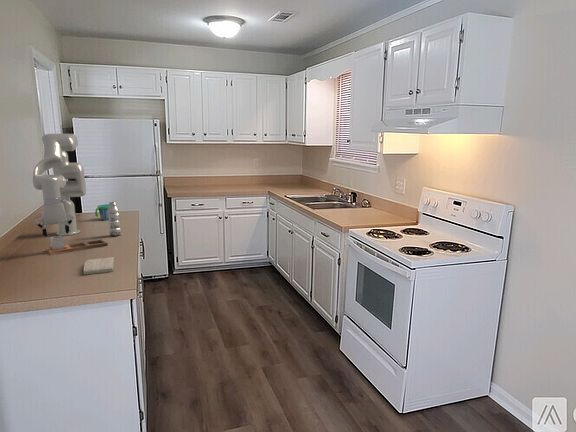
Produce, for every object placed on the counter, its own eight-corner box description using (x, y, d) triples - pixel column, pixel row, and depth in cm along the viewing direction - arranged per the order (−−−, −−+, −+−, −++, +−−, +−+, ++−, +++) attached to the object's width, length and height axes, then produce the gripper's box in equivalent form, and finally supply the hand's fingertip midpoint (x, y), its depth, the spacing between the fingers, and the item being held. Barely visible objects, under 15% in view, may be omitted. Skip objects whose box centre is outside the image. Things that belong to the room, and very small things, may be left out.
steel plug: (51, 250, 206) (50, 236, 205) (62, 248, 210) (61, 235, 208) (53, 252, 203) (52, 238, 201) (64, 250, 206) (63, 237, 204)
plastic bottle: (117, 237, 235) (114, 203, 231) (107, 236, 236) (103, 202, 233) (124, 234, 241) (121, 201, 238) (113, 234, 243) (110, 201, 239)
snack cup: (99, 222, 279) (98, 207, 277) (92, 220, 285) (91, 206, 284) (121, 218, 291) (119, 204, 289) (113, 217, 297) (112, 203, 295)
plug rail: (46, 250, 207) (45, 247, 207) (101, 241, 224) (101, 239, 224) (50, 255, 199) (49, 252, 199) (107, 245, 216) (107, 243, 216)
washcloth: (114, 261, 189) (113, 255, 189) (114, 272, 173) (113, 265, 173) (86, 264, 185) (85, 258, 184) (83, 276, 169) (82, 269, 168)
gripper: (70, 198, 210) (73, 230, 213) (31, 202, 199) (35, 236, 202) (73, 200, 204) (77, 233, 208) (33, 204, 193) (38, 239, 197)
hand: (56, 234), depth 205 cm, fingers open, 9 cm apart
